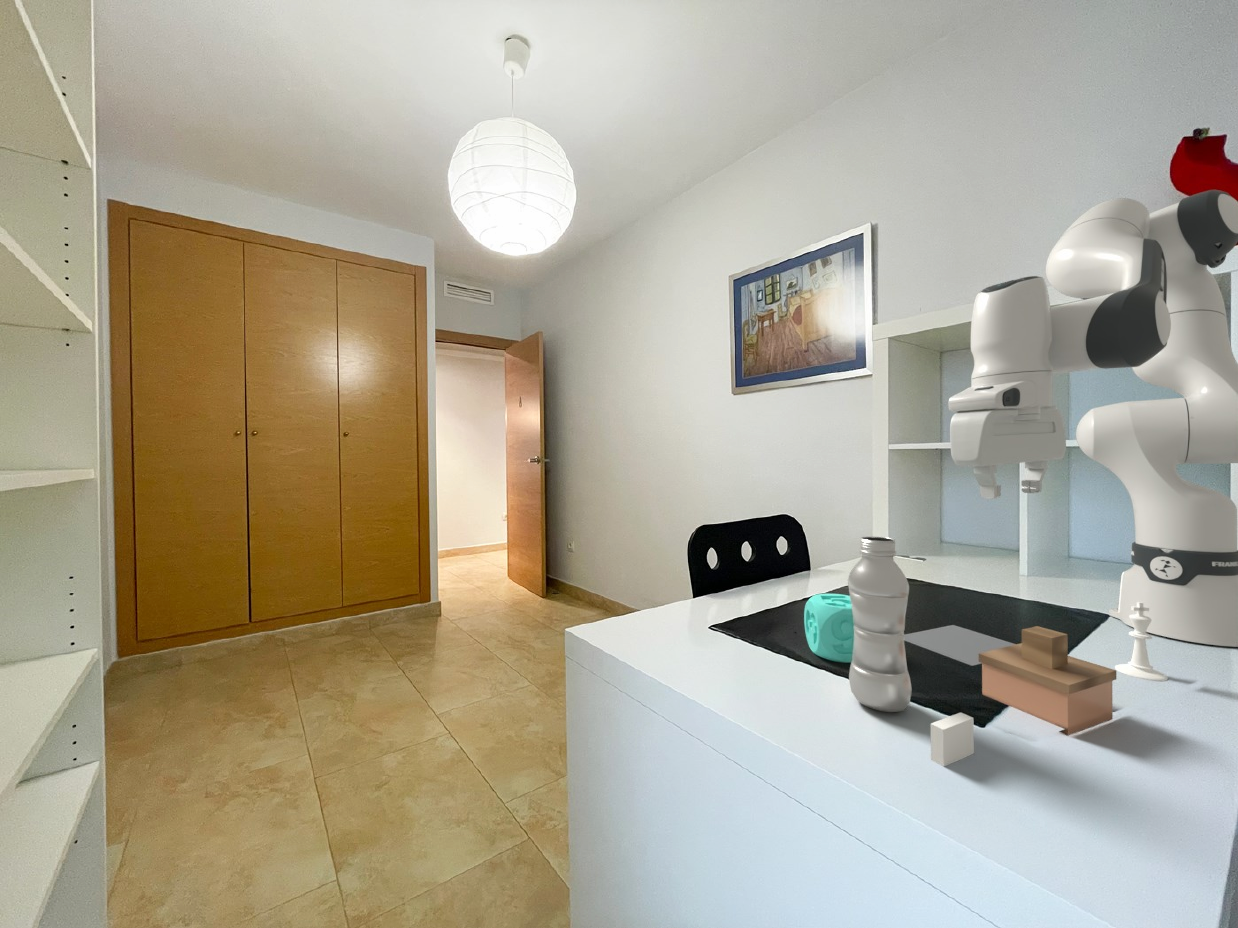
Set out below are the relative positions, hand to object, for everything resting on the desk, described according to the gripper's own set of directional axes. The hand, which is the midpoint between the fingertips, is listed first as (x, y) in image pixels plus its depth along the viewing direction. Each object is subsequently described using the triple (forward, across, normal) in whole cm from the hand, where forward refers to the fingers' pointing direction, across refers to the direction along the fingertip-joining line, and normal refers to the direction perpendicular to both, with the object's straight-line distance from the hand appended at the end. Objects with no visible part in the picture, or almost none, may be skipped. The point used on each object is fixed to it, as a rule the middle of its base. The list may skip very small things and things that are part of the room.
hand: (1011, 495), depth 68 cm
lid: (+19, +10, +9) cm, 23 cm away
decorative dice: (+24, +19, -13) cm, 33 cm away
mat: (+24, 0, -7) cm, 25 cm away
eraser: (+23, +30, +10) cm, 39 cm away
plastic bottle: (+23, +27, +1) cm, 36 cm away
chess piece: (+25, -10, +9) cm, 28 cm away
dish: (+24, +10, +9) cm, 27 cm away
